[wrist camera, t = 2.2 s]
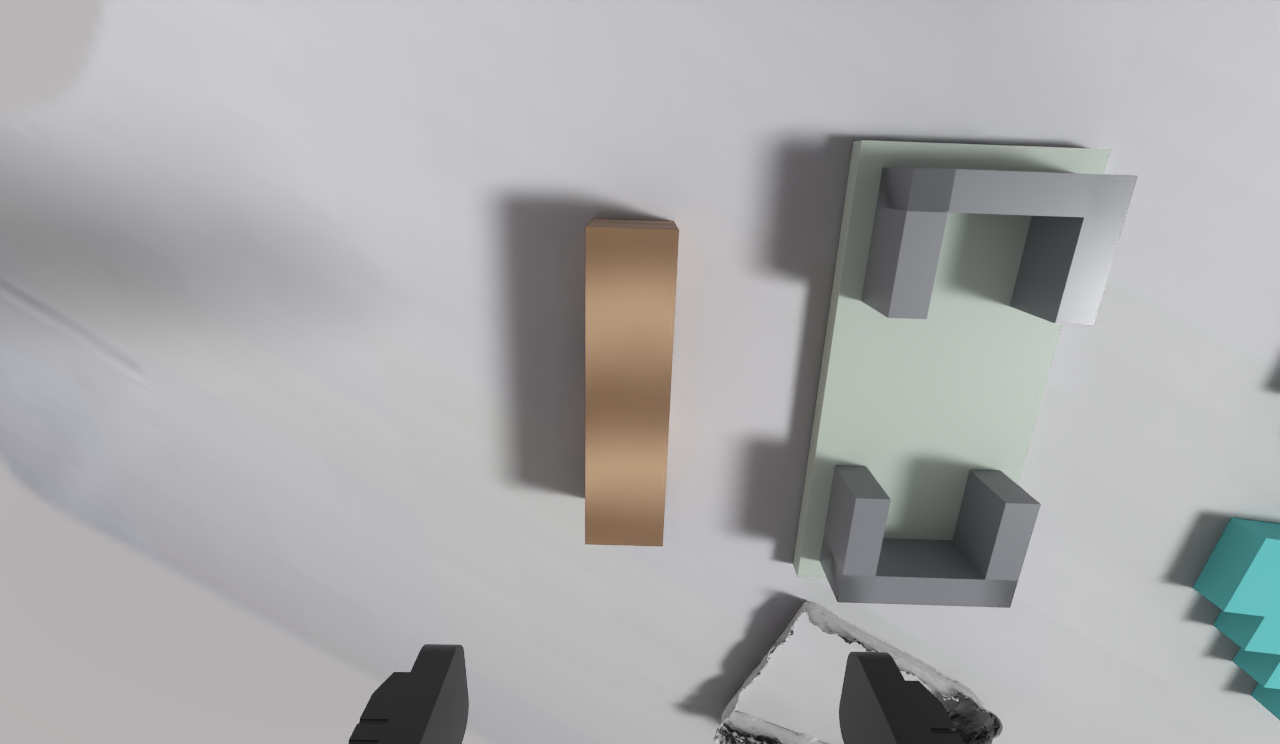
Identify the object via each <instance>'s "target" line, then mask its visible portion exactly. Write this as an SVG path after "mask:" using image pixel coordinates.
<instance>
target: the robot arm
mask: <svg viewBox="0 0 1280 744" xmlns="http://www.w3.org/2000/svg"><path fill="white" fill-rule="evenodd" d="M468 707H469V701H468V689H467V679H466V668H465V658H464V650H463V647H462V645H433V644H426V645H424V646H423V647H422V649H421V650H420V652H419V655H418V657H417V659H416V661H415V663H414V666H413V668H412V670H411V672H394V673H393V674H392V675H391V676H390V677H389V678H388V679H387V680H386V681H385V682H384V683H383V684H382V685H381V686H380V687H379V688H378V689H377V690H376V691H375V692H374V693H373V694H372V696H371V698H370V700H369V702H368V704H367V706H366V708H365V710H364V712H363V714H362V716H361V718H360V722H359V724H357V726H356V727H355V729H354V731H353V733H352V735H351V737H350V739H349V744H462V741H463V737H464V734H465V730H466V725H467V718H468ZM839 720H840V728H841V734H842V738H843V741H844V744H964V742H963V740H962V738H961V737H960V735H959V734H957V733H956V728H955V726H954V724H953V723H952V721H951V719H950V717H949V716H948V714H947V712H946V710H945V709H944V707H943V705H942V703H941V702H940V701H939V700H938V699H937V698H936V697H935V696H934V695H933V694H932V693H931V692H929V691H928V690H927V689H926V688H925V687H924V686H923V685H922V684H921V683H920V682H919V681H905V680H904V678H903V676H902V674H901V672H900V670H899V668H898V667H897V665H896V663H895V661H894V659H893V657H892V656H891V655H890V654H889V653H887V652H851V653H850V654H849V656H848V659H847V665H846V671H845V677H844V682H843V688H842V694H841V700H840V707H839Z"/></svg>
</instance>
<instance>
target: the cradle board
mask: <svg viewBox="0 0 1280 744" xmlns="http://www.w3.org/2000/svg"><path fill="white" fill-rule="evenodd" d="M1110 151H1111V149H1091V148H1063V147H1035V146H1008V145H980V144H953V143H925V142H897V141H870V140H859V141H853V147H852V154H851V161H850V168H849V175H848V182H847V189H846V196H845V203H844V210H843V217H842V224H841V231H840V238H839V245H838V252H837V259H836V266H835V273H834V280H833V287H832V294H831V301H830V308H829V315H828V322H827V329H826V336H825V343H824V350H823V357H822V364H821V371H820V378H819V385H818V392H817V399H816V406H815V413H814V420H813V427H812V434H811V441H810V448H809V455H808V462H807V469H806V476H805V483H804V490H803V497H802V504H801V511H800V518H799V525H798V532H797V539H796V546H795V553H794V560H793V566H794V569H795V571H796V574H797V577H821V578H827V577H826V575H825V572H824V570H823V568H822V566H821V563H820V555H821V549H822V542H823V536H824V530H825V524H826V517H827V511H828V505H829V499H830V492H831V486H832V480H833V474H834V467H835V465H847V466H866V467H867V468H868V469H869V471H870V472H871V474H872V475H873V476H874V478H875V479H876V480H877V482H878V483H879V484H880V486H881V487H882V488H883V490H884V491H885V492H886V494H887V495H888V496H889V498H890V499H891V501H890V506H889V511H888V516H887V521H886V526H885V531H884V536H883V538H898V539H929V540H953V536H954V532H955V528H956V523H957V519H958V515H959V511H960V507H961V503H962V499H963V495H964V491H965V487H966V483H967V479H968V474H969V470H998V471H1002V472H1003V473H1004V474H1005V475H1007V476H1008V477H1009V478H1010V479H1011V480H1012V481H1014V482H1015V483H1016V484H1017V485H1018V482H1019V478H1020V475H1021V471H1022V468H1023V464H1024V460H1025V457H1026V453H1027V450H1028V446H1029V442H1030V439H1031V435H1032V432H1033V428H1034V424H1035V421H1036V417H1037V414H1038V410H1039V406H1040V403H1041V399H1042V396H1043V392H1044V388H1045V385H1046V381H1047V378H1048V374H1049V370H1050V367H1051V363H1052V360H1053V356H1054V352H1055V349H1056V345H1057V342H1058V338H1059V334H1060V331H1061V327H1062V324H1055V323H1052V322H1050V321H1047V320H1044V319H1042V318H1039V317H1036V316H1034V315H1031V314H1028V313H1026V312H1023V311H1021V310H1018V309H1015V308H1013V307H1010V303H1011V299H1012V295H1013V291H1014V287H1015V283H1016V279H1017V275H1018V270H1019V266H1020V262H1021V258H1022V254H1023V250H1024V246H1025V242H1026V238H1027V234H1028V230H1029V226H1030V221H1031V217H1032V216H1030V215H1002V214H974V213H948V215H947V220H946V225H945V230H944V235H943V240H942V245H941V250H940V255H939V260H938V265H937V270H936V275H935V280H934V285H933V290H932V295H931V300H930V305H929V310H928V315H927V319H906V318H887V317H886V316H884V315H883V314H881V313H879V312H878V311H876V310H874V309H873V308H871V307H870V306H868V305H866V304H865V303H863V302H861V298H862V292H863V286H864V280H865V273H866V267H867V261H868V255H869V248H870V242H871V236H872V230H873V223H874V217H875V211H876V205H877V198H878V192H879V186H880V180H881V173H882V168H939V169H966V170H994V171H1022V172H1050V173H1078V174H1104V172H1105V169H1106V165H1107V162H1108V158H1109V154H1110Z"/></svg>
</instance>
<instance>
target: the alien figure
mask: <svg viewBox="0 0 1280 744" xmlns="http://www.w3.org/2000/svg"><path fill="white" fill-rule="evenodd" d="M1193 588H1194V589H1195V590H1196V591H1198V592H1199V593H1200V594H1201V595H1203V596H1204V597H1205V598H1207V599H1208V600H1209V601H1211V602H1212V603H1213V604H1215V605H1216V606H1217V607H1218V608H1220V609H1221V610H1222V611H1221V613H1220V615H1219V616H1218V618H1217V620H1216V621H1215V623H1214V625H1213V626H1215V627H1216V628H1217V629H1218V630H1219V631H1221V632H1222V633H1223V634H1224V635H1226V636H1227V637H1228V638H1229V639H1231V640H1232V641H1233V642H1234V643H1236V644H1237V645H1238V646H1239V647H1241V648H1240V650H1239V651H1238V653H1237V655H1236V656H1235V658H1234V660H1233V662H1234V663H1235V664H1237V665H1238V666H1239V667H1240V668H1241V669H1243V670H1244V671H1245V672H1246V673H1247V674H1248V675H1250V676H1251V677H1252V678H1253V679H1254V680H1256V681H1257V682H1258V685H1257V686H1256V688H1255V690H1254V691H1253V693H1252V694H1251V696H1253V697H1254V698H1255V699H1256V700H1257V701H1258V702H1259V703H1261V704H1262V705H1263V706H1264V707H1265V708H1266V709H1268V710H1269V711H1270V712H1271V713H1272V714H1273V715H1274V716H1276V717H1277V718H1278V719H1279V720H1280V524H1277V523H1270V522H1262V521H1254V520H1247V519H1239V518H1231V519H1230V521H1229V523H1228V525H1227V526H1226V528H1225V530H1224V532H1223V534H1222V536H1221V537H1220V539H1219V541H1218V543H1217V545H1216V547H1215V548H1214V550H1213V552H1212V554H1211V556H1210V558H1209V559H1208V561H1207V563H1206V565H1205V567H1204V568H1203V570H1202V572H1201V574H1200V576H1199V578H1198V579H1197V581H1196V583H1195V585H1194V587H1193Z"/></svg>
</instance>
